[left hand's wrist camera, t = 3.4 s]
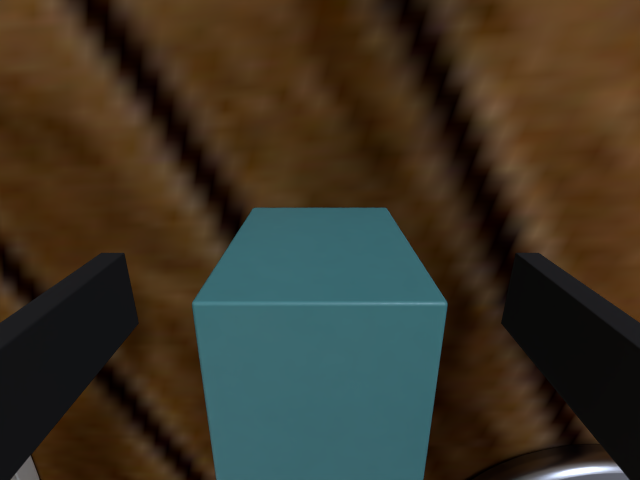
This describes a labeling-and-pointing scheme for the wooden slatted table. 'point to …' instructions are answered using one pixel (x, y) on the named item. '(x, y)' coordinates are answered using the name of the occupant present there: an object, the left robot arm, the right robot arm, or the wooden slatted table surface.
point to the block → (319, 348)
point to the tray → (27, 471)
